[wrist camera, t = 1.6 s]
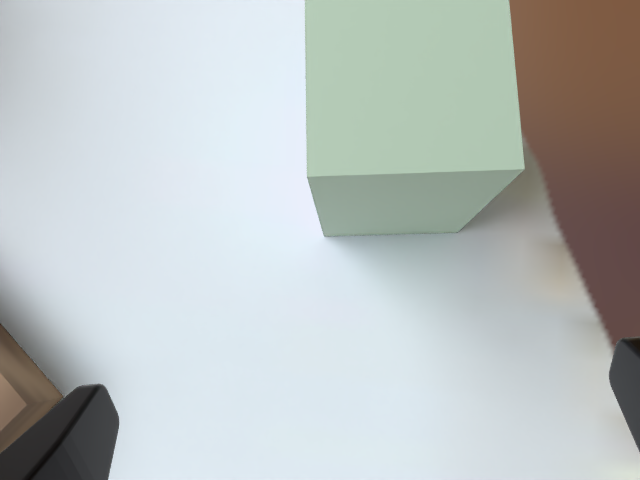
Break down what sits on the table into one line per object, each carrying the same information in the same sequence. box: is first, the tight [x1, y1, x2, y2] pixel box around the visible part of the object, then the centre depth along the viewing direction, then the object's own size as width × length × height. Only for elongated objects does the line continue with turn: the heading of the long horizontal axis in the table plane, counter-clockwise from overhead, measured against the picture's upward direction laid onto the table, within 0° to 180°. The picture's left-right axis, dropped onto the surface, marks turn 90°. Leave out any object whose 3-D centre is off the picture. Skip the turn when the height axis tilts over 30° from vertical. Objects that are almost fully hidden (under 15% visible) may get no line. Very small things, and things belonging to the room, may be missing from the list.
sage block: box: [305, 0, 525, 236], centre depth 19 cm, size 6×6×9 cm
